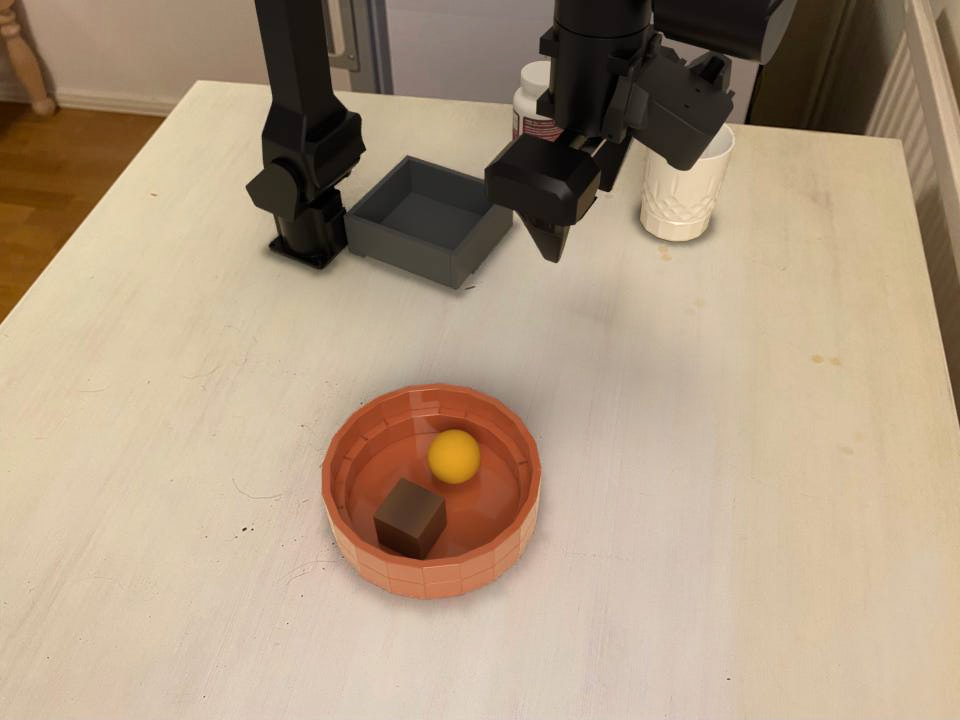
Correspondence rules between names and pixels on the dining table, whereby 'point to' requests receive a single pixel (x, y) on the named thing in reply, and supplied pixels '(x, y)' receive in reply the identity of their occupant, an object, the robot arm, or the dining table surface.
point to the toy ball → (454, 456)
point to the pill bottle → (533, 103)
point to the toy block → (410, 519)
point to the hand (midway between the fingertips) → (579, 223)
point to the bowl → (433, 488)
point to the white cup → (684, 190)
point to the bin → (427, 222)
